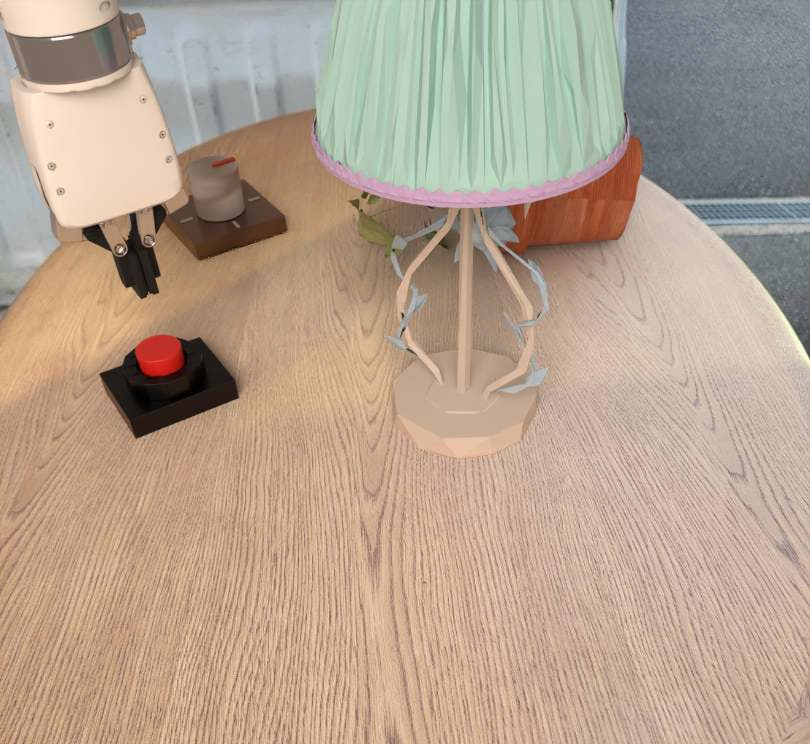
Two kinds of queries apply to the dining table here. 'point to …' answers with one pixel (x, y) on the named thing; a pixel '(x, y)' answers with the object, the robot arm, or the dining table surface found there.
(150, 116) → the robot arm
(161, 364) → the light button
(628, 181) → the potted plant
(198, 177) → the dimmer knob
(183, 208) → the dimmer panel
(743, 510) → the dining table surface
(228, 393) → the switch block
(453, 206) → the table lamp
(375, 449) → the dining table surface
